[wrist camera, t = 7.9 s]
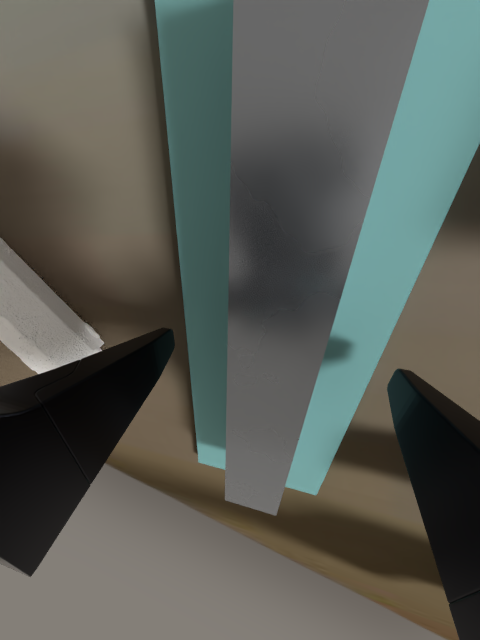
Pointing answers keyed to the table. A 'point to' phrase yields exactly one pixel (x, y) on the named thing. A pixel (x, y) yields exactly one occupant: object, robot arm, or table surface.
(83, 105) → the table surface
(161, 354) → the robot arm
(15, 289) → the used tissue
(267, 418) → the rail
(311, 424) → the mat
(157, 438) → the table surface
